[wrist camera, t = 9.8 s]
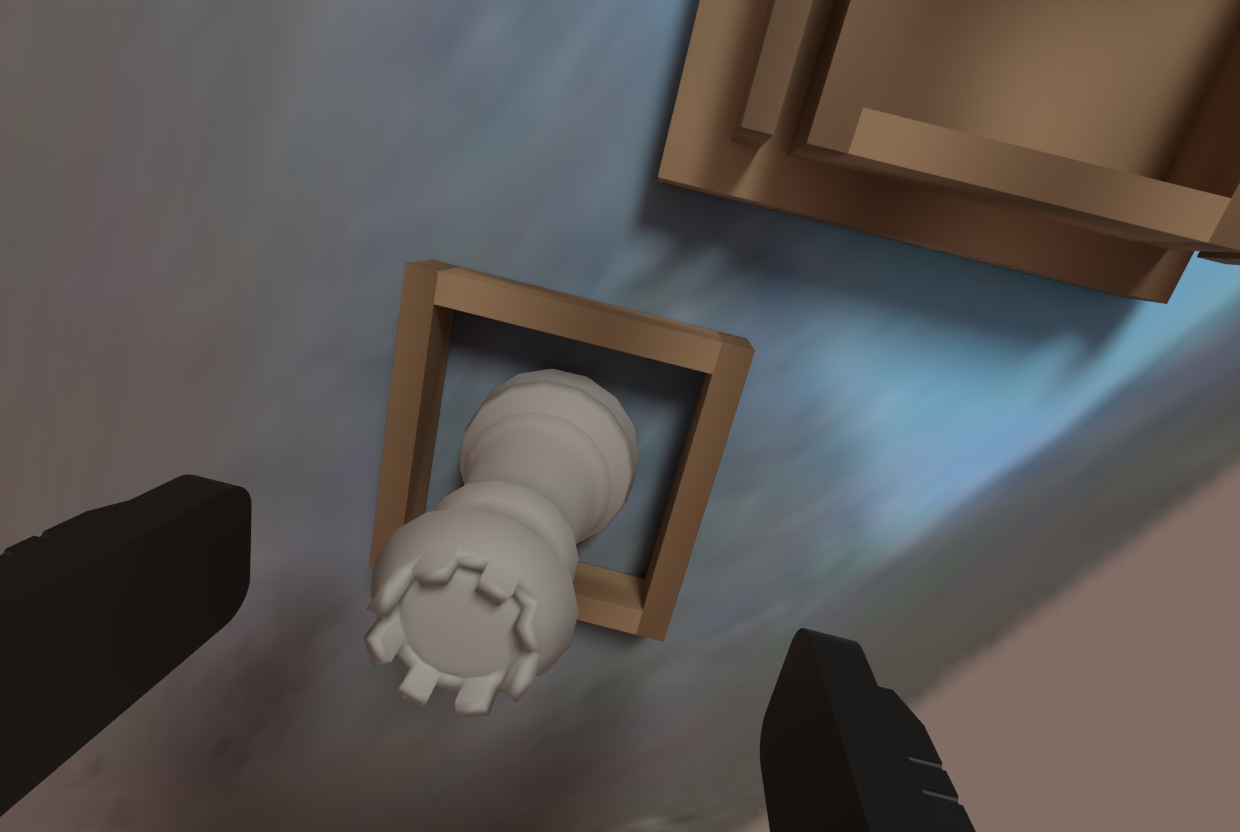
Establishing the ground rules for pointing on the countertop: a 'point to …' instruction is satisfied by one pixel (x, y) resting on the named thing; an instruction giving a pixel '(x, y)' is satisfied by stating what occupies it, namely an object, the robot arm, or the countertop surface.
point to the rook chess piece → (503, 543)
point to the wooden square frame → (450, 288)
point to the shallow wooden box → (978, 127)
